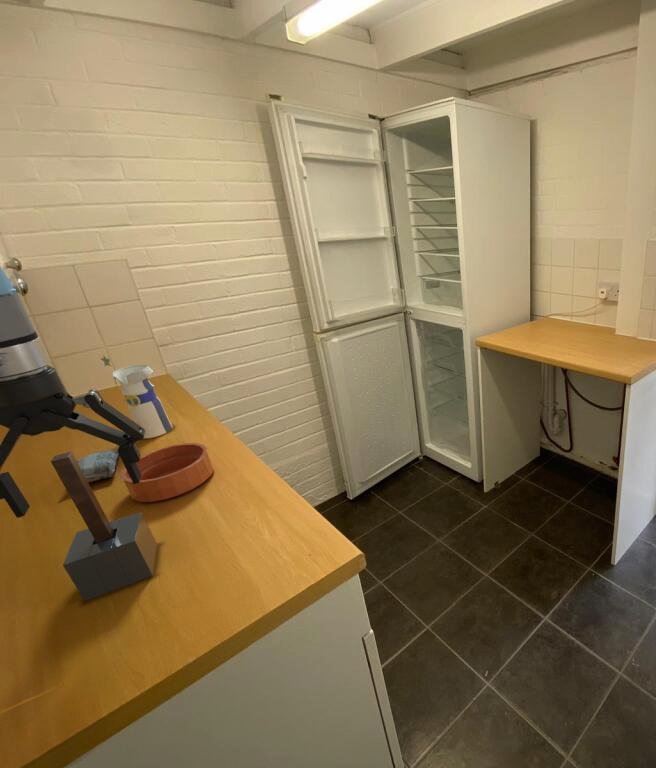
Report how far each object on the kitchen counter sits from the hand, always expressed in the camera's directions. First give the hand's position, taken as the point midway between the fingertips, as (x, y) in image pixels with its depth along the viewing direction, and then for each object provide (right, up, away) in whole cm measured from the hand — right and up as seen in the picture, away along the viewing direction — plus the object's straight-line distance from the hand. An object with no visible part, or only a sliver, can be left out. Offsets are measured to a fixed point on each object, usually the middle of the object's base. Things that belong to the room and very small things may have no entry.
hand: (83, 495), depth 67 cm
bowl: (-10, -5, +30) cm, 32 cm away
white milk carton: (-34, +4, +53) cm, 63 cm away
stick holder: (0, -15, +7) cm, 17 cm away
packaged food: (-31, -5, +34) cm, 46 cm away
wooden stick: (0, -15, +7) cm, 17 cm away
